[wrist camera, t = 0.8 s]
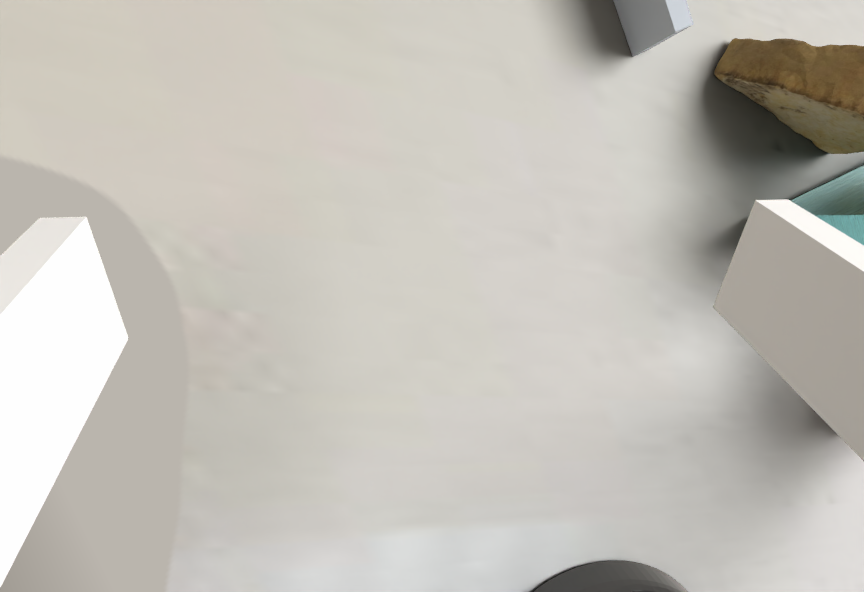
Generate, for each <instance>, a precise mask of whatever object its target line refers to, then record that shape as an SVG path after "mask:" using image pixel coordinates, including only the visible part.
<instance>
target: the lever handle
mask: <svg viewBox="0 0 864 592" xmlns="http://www.w3.org/2000/svg"><path fill="white" fill-rule="evenodd" d="M791 202H793V203H795V204H796V205H798V206H800V207H801V208H803V209H805V210H806V211H808V212H810V213H811V214H813V215H814V216H816V217H818V218H819V219H821V220H823V221H824V222H826V223H828V224H829V225H831V226H832V227H834V228H836V229H837V230H839V231H841V232H842V233H844V234H846V235H847V236H849V237H851V238H852V239H854V240H855V241H857V242H859V243H860V244H862V245H864V165H863V166H861V167H859V168H857V169H855V170H853V171H851V172H849V173H847V174H845V175H843V176H840V177H838V178H836V179H834V180H832V181H830V182H828V183H826V184H824V185H822V186H820V187H818V188H815V189H813V190H811V191H809V192H807V193H805V194H803V195H801V196H799V197H797V198H795V199H793V200H791Z"/></svg>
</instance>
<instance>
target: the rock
mask: <svg viewBox="0 0 864 592" xmlns="http://www.w3.org/2000/svg"><path fill="white" fill-rule="evenodd" d="M714 73H715V76H716V77H717V78H718V79H720V80H721V81H722V82H723V83H725V84H727V85H728V86H730V87H732V88H734V89H735V90H737V91H739V92H741V93H743V94H744V95H746V96H747V97H748V98H749V99H751V100H753V101H754V102H756V103H757V104H759V105H761V106H763V107H764V108H766V109H767V110H769V111H770V112H772V113H773V114H774V115H775V116H776V117H777V119H778V120H780V121H781V122H782V123H784V124H786V125H787V126H789V127H790V128H791V129H792V130H793V131H794V132H796V133H799V134H800V135H802V136H804V137H805V138H807V139H810V140H812V142H813V143H814V144H815V145H816V146H817V147H818V148H819V149H821V150H823V151H825V152H828V153H831V154H848V153H855V152H863V151H864V46H857V45H841V46H840V45H827V46H822V47H816V46H811V45H809V44H807V43H806V42H804V41H799V40H794V39H774V40H771V41H760V40H753V39H737V38H735V39H733V40H732V41H731V42H730V44H729V45H728V47H727V49H726V51H725V53H724V55H723V56H722V58H721V59H720V61H719V62H718V64H717V67H716V69H715V72H714Z"/></svg>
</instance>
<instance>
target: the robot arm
mask: <svg viewBox="0 0 864 592" xmlns="http://www.w3.org/2000/svg"><path fill="white" fill-rule="evenodd" d="M713 308H714V309H715V310H716V311H717V312H718V313H719V314H720V315H721V316H722V317H723V318H724V319H725V320H726V321H727V322H728V323H729V324H730V325H731V326H732V327H733V328H734V329H735V330H736V331H737V332H738V333H739V334H740V335H741V336H742V337H743V338H744V339H745V340H746V341H747V342H748V344H749V345H750V346H751V347H752V348H753V349H754V350H755V351H756V352H757V353H758V354H759V355H760V356H761V357H762V358H763V359H764V360H765V361H766V362H767V363H768V364H769V365H770V366H771V367H772V368H773V369H774V370H775V371H776V372H777V373H778V374H779V375H780V376H781V377H782V378H783V379H784V380H785V381H786V382H787V383H788V384H789V385H790V386H791V387H792V388H793V389H794V391H795V392H796V393H797V394H798V395H799V396H800V397H801V398H802V399H803V400H804V401H805V402H806V403H807V404H808V405H809V406H810V407H811V408H812V409H813V410H814V411H815V412H816V413H817V414H818V415H819V416H820V417H821V418H822V419H823V420H824V421H825V422H826V423H827V424H828V425H829V426H830V427H831V428H832V429H833V430H834V431H835V432H836V433H837V434H838V435H839V436H840V437H841V439H842V440H843V441H844V442H845V443H846V444H847V445H848V446H849V447H850V448H851V449H852V450H853V451H854V452H855V453H856V454H857V455H858V456H859V457H860V458H861V459H862V460H863V461H864V245H862V244H860V243H859V242H857V241H855V240H854V239H852V238H851V237H849V236H847V235H846V234H844V233H842V232H841V231H839V230H837V229H836V228H834V227H832V226H831V225H829V224H828V223H826V222H824V221H823V220H821V219H819V218H818V217H816V216H814V215H813V214H811V213H810V212H808V211H806V210H805V209H803V208H801V207H800V206H798V205H796V204H795V203H793V202H791V201H790V200H788V199H783V200H755V202H754V205H753V207H752V210H751V212H750V215H749V217H748V220H747V222H746V225H745V227H744V230H743V232H742V235H741V237H740V240H739V242H738V245H737V247H736V250H735V253H734V255H733V258H732V260H731V263H730V265H729V268H728V270H727V273H726V275H725V278H724V280H723V283H722V285H721V288H720V290H719V293H718V295H717V298H716V300H715V303H714V305H713ZM127 340H128V335H127V332H126V330H125V327H124V324H123V321H122V318H121V315H120V313H119V310H118V307H117V304H116V301H115V298H114V295H113V292H112V289H111V286H110V284H109V281H108V278H107V275H106V272H105V269H104V266H103V263H102V261H101V258H100V255H99V252H98V249H97V246H96V243H95V240H94V238H93V235H92V232H91V229H90V226H89V224H88V220H87V217H56V218H39V219H38V220H37V221H36V222H35V223H34V224H33V225H32V226H31V227H30V228H29V229H28V230H27V231H26V232H25V233H24V234H22V235H21V236H20V237H19V238H18V239H17V240H16V241H15V242H14V243H13V244H12V245H11V246H10V247H9V248H8V249H7V250H6V251H5V252H4V253H3V254H2V255H1V256H0V587H1V585H2V583H3V581H4V579H5V577H6V576H7V574H8V572H9V570H10V568H11V566H12V564H13V562H14V560H15V558H16V556H17V554H18V552H19V550H20V548H21V546H22V544H23V542H24V541H25V539H26V537H27V535H28V533H29V531H30V529H31V527H32V525H33V523H34V521H35V519H36V517H37V515H38V513H39V511H40V509H41V508H42V506H43V503H44V502H45V500H46V498H47V496H48V494H49V492H50V490H51V488H52V486H53V484H54V482H55V480H56V478H57V476H58V474H59V473H60V471H61V469H62V467H63V465H64V463H65V461H66V459H67V457H68V455H69V453H70V451H71V449H72V447H73V445H74V443H75V441H76V439H77V437H78V436H79V434H80V431H81V429H82V428H83V426H84V424H85V422H86V420H87V418H88V416H89V414H90V412H91V410H92V408H93V406H94V404H95V403H96V400H97V399H98V396H99V394H100V393H101V391H102V389H103V387H104V385H105V383H106V381H107V379H108V377H109V375H110V373H111V371H112V369H113V367H114V366H115V364H116V362H117V360H118V358H119V356H120V354H121V352H122V350H123V348H124V346H125V344H126V342H127ZM533 592H688V591H687V590H686V589H685V588H684V587H683V586H682V585H681V584H680V583H678V582H677V581H676V580H675V579H673V578H672V577H671V576H669V575H667V574H666V573H664V572H662V571H660V570H658V569H656V568H653V567H651V566H648V565H644V564H641V563H636V562H629V561H604V562H596V563H591V564H587V565H583V566H580V567H577V568H574V569H571V570H569V571H566V572H564V573H562V574H560V575H558V576H556V577H554V578H553V579H551V580H549V581H547V582H546V583H544V584H543V585H541V586H540V587H539V588H537V589H536V590H535V591H533Z"/></svg>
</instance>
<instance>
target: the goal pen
mask: <svg viewBox="0 0 864 592" xmlns="http://www.w3.org/2000/svg"><path fill="white" fill-rule="evenodd" d="M613 1H614V4H615V7H616V10H617V13H618V16H619V19H620V21H621V24H622V27H623V30H624V33H625V36H626V39H627V42H628V45H629V48H630V51H631V54H632V57H633V56H635V55H638V54H640V53H642V52H644V51H647V50H649V49H651V48H652V47H654V46H656V45H658V44H659V43H661V42H663V41H665V40H667V39H668V38H670V37H672V36H674V35H675V34H677V33H679V32H681V31H683V30H684V29H686V28H688V27H690V26H692V25H693V24H694V23H693V20H692V17H691V14H690V10H689V7H688V4H687V1H686V0H613Z"/></svg>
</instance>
